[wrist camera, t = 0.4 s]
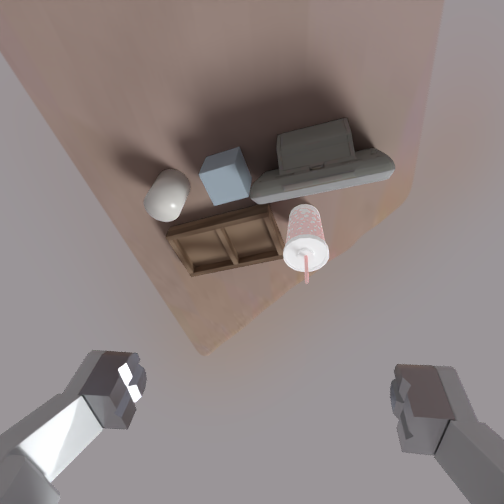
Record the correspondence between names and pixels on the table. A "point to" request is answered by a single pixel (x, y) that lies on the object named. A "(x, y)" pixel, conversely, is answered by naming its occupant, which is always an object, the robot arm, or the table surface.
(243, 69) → the table surface
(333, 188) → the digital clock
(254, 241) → the organiser base
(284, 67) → the table surface
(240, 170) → the blue cube
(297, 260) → the beverage cup
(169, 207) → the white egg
